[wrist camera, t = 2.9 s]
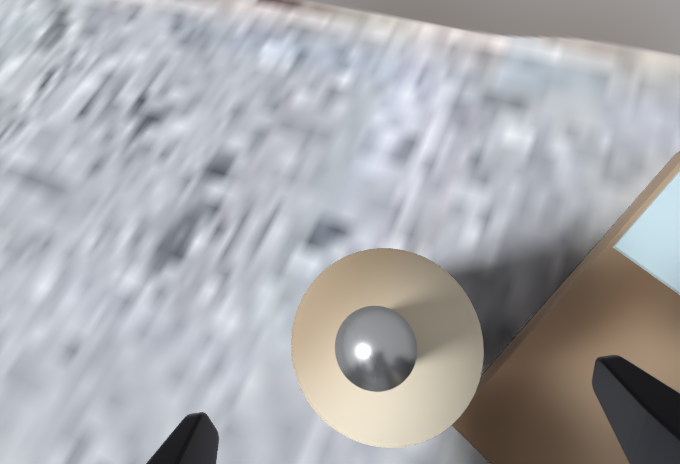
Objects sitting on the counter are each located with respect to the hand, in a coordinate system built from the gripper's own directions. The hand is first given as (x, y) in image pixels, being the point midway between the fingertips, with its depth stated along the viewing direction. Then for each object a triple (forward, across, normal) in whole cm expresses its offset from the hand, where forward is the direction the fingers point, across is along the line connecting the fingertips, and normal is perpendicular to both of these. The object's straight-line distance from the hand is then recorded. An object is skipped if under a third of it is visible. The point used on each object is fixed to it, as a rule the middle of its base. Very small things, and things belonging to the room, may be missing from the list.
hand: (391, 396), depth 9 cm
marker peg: (+7, 0, +5) cm, 9 cm away
